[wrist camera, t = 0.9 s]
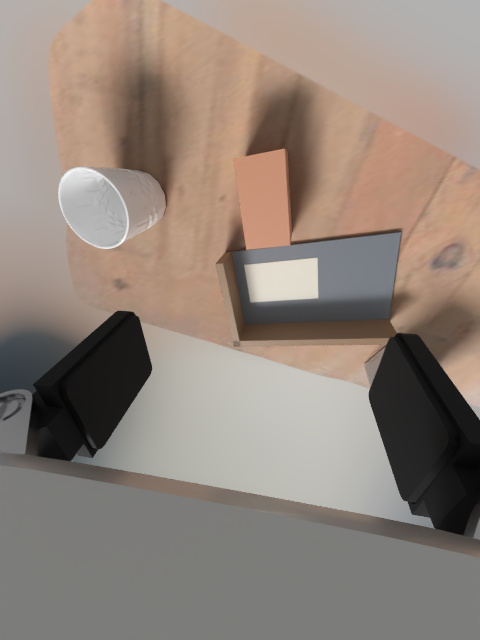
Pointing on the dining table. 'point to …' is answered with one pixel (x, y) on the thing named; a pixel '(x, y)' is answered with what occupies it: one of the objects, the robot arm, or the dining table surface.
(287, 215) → the rust block
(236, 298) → the arena
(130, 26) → the dining table surface
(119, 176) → the white cup
